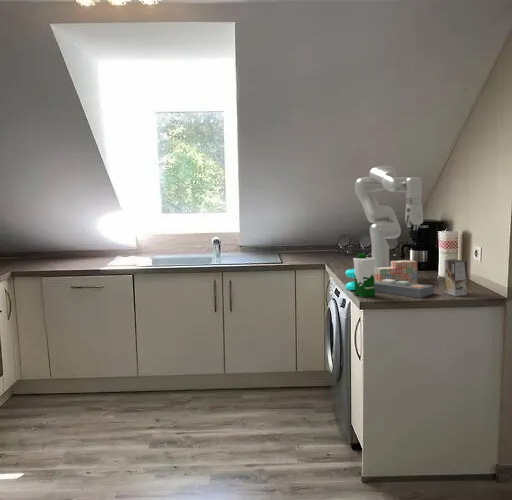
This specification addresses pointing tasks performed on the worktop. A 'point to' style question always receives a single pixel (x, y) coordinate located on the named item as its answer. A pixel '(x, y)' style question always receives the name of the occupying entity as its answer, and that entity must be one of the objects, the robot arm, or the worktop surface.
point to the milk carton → (364, 275)
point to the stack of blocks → (398, 271)
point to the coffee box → (456, 277)
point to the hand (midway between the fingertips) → (413, 237)
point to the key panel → (404, 289)
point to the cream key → (388, 281)
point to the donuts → (351, 274)
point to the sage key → (402, 283)
